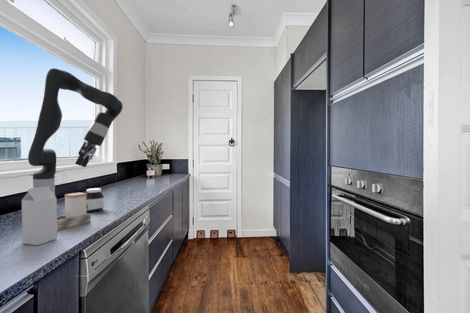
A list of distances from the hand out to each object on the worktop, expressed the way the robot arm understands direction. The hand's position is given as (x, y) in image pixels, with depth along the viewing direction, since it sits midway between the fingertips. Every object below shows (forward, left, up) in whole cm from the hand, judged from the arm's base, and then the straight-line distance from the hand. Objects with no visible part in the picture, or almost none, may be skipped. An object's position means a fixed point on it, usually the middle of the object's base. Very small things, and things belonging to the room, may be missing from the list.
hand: (80, 165), depth 114 cm
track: (+6, -4, -25) cm, 26 cm away
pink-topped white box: (+3, -1, -23) cm, 24 cm away
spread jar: (-19, -3, -25) cm, 32 cm away
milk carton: (+26, -4, -25) cm, 37 cm away
